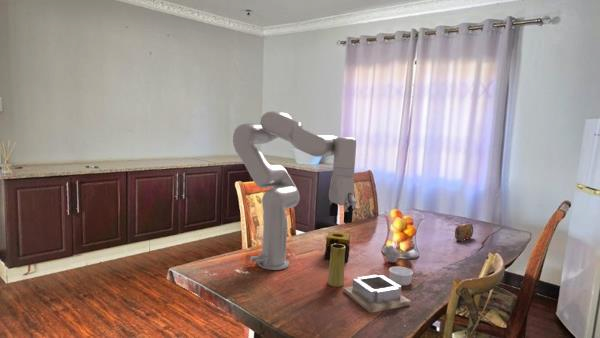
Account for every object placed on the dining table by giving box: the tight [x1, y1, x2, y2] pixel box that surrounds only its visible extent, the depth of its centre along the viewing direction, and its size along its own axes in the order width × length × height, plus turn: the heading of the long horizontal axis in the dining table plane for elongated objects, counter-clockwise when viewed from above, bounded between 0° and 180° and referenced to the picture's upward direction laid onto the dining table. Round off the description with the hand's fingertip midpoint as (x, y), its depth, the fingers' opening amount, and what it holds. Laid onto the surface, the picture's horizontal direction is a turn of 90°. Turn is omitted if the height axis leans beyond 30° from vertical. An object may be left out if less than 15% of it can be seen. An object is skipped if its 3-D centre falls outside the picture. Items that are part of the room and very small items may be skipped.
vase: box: [327, 244, 345, 288], centre depth 143 cm, size 6×6×14 cm
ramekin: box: [388, 266, 414, 286], centre depth 149 cm, size 9×9×4 cm
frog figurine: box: [383, 245, 400, 263], centre depth 169 cm, size 6×7×7 cm
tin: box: [454, 222, 474, 242], centre depth 210 cm, size 15×3×8 cm, turn 129°
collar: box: [352, 274, 402, 304], centre depth 133 cm, size 12×12×4 cm
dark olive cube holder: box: [323, 231, 351, 263], centre depth 171 cm, size 10×10×10 cm
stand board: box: [342, 285, 411, 314], centre depth 134 cm, size 16×16×2 cm
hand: (340, 219), depth 141 cm, fingers open, 9 cm apart
